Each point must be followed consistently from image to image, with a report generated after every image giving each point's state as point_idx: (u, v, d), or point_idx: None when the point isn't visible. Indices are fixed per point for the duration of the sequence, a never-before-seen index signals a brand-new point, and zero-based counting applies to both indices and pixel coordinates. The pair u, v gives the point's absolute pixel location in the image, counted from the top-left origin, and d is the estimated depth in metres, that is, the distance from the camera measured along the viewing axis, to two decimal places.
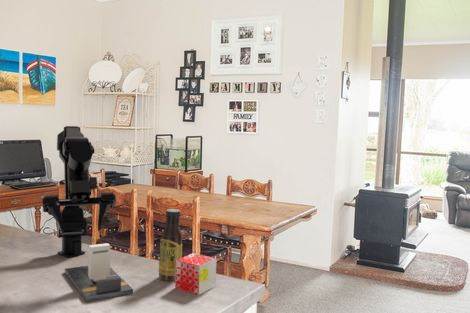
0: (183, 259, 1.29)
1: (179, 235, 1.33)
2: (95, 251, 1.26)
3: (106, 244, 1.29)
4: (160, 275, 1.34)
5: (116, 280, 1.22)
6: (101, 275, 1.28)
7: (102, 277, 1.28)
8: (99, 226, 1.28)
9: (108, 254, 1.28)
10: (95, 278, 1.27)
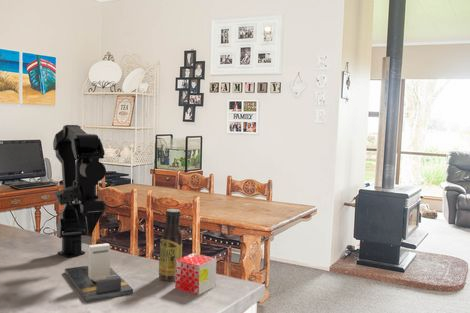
0: (183, 259, 1.29)
1: (179, 235, 1.33)
2: (95, 251, 1.26)
3: (106, 244, 1.29)
4: (160, 275, 1.34)
5: (116, 280, 1.22)
6: (101, 275, 1.28)
7: (102, 277, 1.28)
8: None
9: (108, 254, 1.28)
10: (95, 278, 1.27)
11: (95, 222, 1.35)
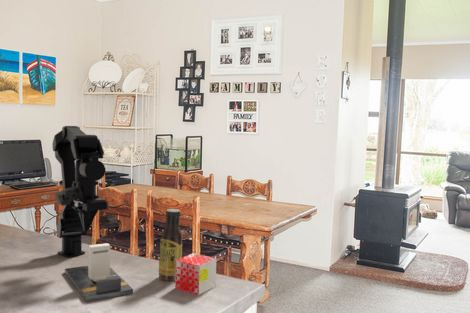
0: (183, 259, 1.29)
1: (179, 235, 1.33)
2: (95, 251, 1.26)
3: (106, 244, 1.29)
4: (160, 275, 1.34)
5: (116, 280, 1.22)
6: (101, 275, 1.28)
7: (102, 277, 1.28)
8: (84, 228, 1.39)
9: (108, 254, 1.28)
10: (95, 278, 1.27)
11: (91, 219, 1.39)
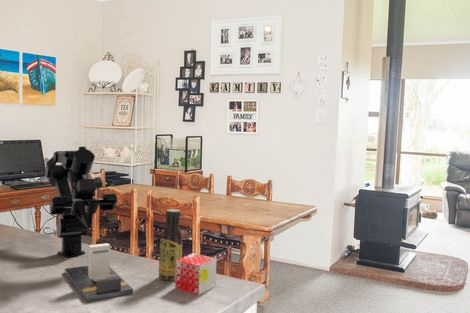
0: (183, 259, 1.29)
1: (179, 235, 1.33)
2: (95, 251, 1.26)
3: (106, 244, 1.29)
4: (160, 275, 1.34)
5: (116, 280, 1.22)
6: (101, 275, 1.28)
7: (102, 277, 1.28)
8: (90, 223, 1.37)
9: (108, 254, 1.28)
10: (95, 278, 1.27)
11: None
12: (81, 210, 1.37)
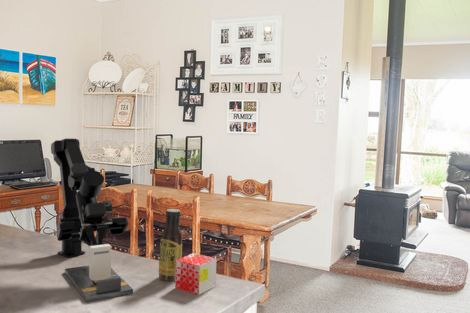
0: (183, 259, 1.29)
1: (179, 235, 1.33)
2: (95, 252, 1.26)
3: (107, 245, 1.28)
4: (160, 275, 1.34)
5: (116, 280, 1.22)
6: (102, 276, 1.27)
7: (103, 278, 1.27)
8: None
9: (109, 255, 1.27)
10: (96, 279, 1.26)
11: None
12: (90, 236, 1.29)
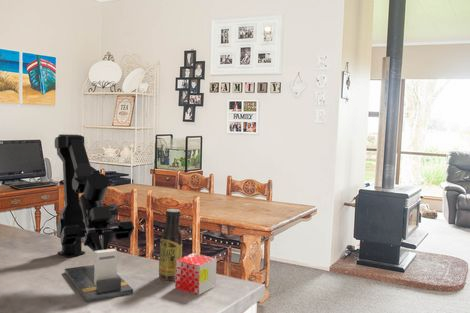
0: (183, 259, 1.29)
1: (179, 235, 1.33)
2: (101, 257, 1.21)
3: (113, 249, 1.24)
4: (160, 275, 1.34)
5: (116, 280, 1.22)
6: None
7: None
8: None
9: (115, 260, 1.23)
10: None
11: None
12: (95, 241, 1.25)
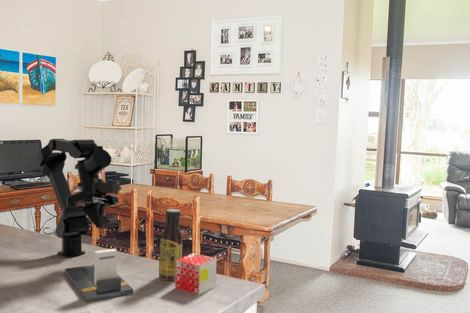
0: (183, 259, 1.29)
1: (179, 235, 1.33)
2: (101, 257, 1.21)
3: (113, 249, 1.24)
4: (160, 275, 1.34)
5: (116, 280, 1.22)
6: None
7: None
8: (101, 224, 1.42)
9: (115, 260, 1.23)
10: None
11: None
12: (97, 209, 1.41)
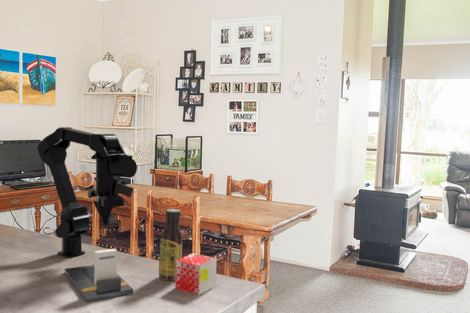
0: (183, 259, 1.29)
1: (179, 235, 1.33)
2: (101, 257, 1.21)
3: (113, 249, 1.24)
4: (160, 275, 1.34)
5: (116, 280, 1.22)
6: None
7: None
8: None
9: (115, 260, 1.23)
10: None
11: None
12: None
